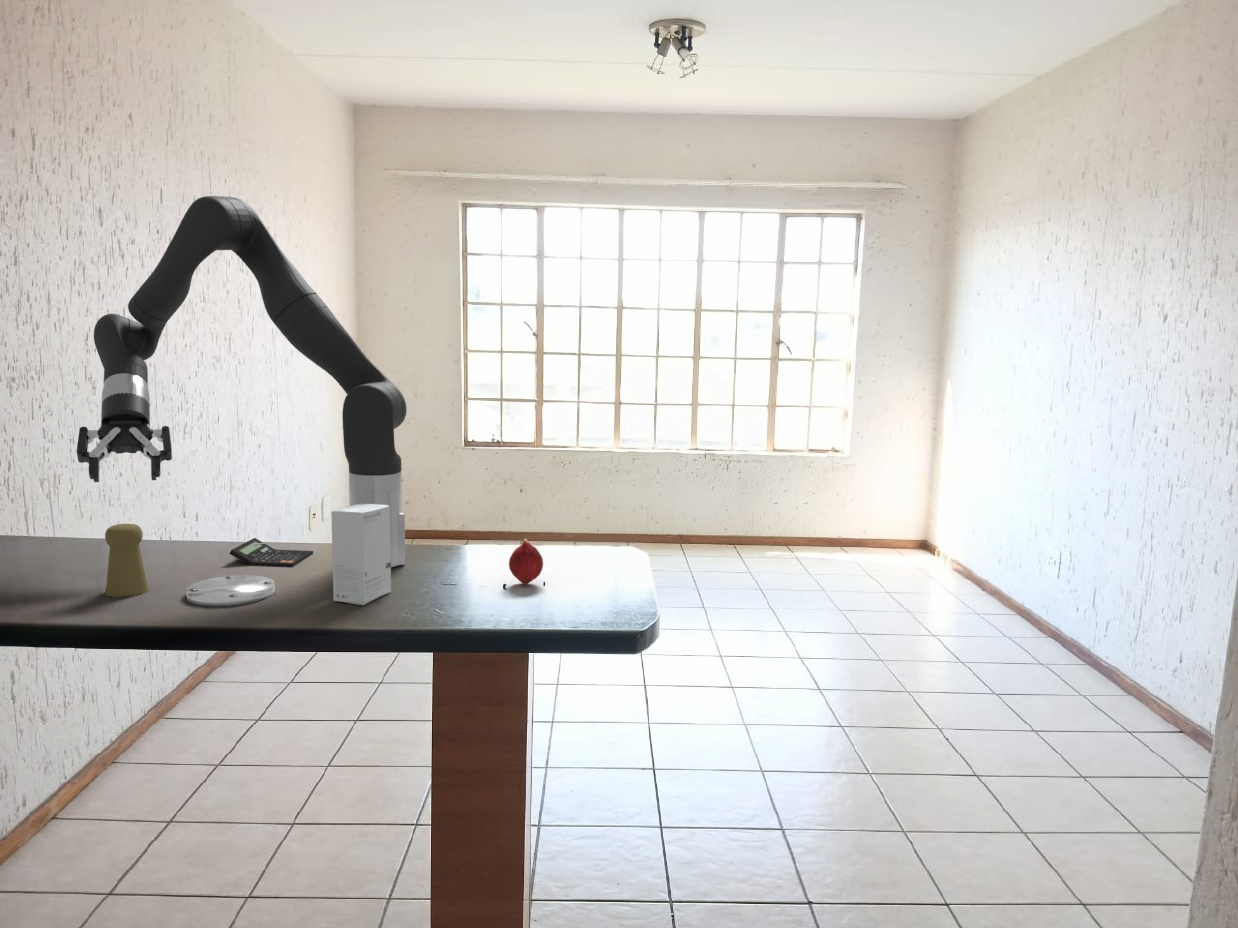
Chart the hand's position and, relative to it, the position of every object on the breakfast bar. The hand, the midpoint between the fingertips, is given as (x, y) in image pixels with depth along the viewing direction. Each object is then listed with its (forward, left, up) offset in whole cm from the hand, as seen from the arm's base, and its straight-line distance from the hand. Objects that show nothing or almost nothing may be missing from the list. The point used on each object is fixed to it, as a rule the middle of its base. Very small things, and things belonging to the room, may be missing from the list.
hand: (125, 478), depth 148 cm
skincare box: (-34, +28, -17) cm, 47 cm away
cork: (0, +12, -17) cm, 20 cm away
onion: (-61, +31, -17) cm, 70 cm away
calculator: (-23, -1, -17) cm, 29 cm away
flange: (-15, +19, -16) cm, 29 cm away
